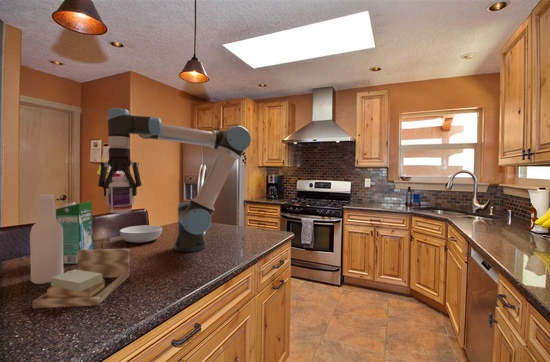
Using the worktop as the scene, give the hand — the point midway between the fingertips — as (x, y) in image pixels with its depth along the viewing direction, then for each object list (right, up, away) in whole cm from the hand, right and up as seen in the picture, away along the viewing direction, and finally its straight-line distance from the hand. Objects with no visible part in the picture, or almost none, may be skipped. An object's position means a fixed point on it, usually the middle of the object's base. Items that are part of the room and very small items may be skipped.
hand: (120, 204), depth 109 cm
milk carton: (-23, -25, +6) cm, 34 cm away
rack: (+2, -26, -22) cm, 34 cm away
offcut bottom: (+3, -27, -28) cm, 39 cm away
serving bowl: (-11, -24, +39) cm, 46 cm away
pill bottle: (0, -3, 0) cm, 3 cm away
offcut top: (+3, -22, -28) cm, 36 cm away
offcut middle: (+3, -24, -28) cm, 37 cm away
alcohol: (-17, -25, -15) cm, 34 cm away
